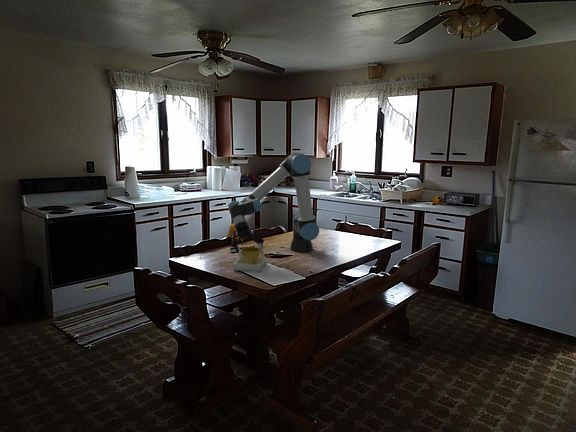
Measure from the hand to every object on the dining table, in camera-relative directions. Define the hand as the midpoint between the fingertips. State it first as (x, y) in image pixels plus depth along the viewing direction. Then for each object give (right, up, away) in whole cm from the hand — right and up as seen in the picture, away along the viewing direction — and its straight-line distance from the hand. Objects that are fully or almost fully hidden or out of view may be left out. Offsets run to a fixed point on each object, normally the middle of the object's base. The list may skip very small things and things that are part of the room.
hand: (252, 255), depth 227 cm
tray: (-1, -7, +3) cm, 8 cm away
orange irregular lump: (-18, +4, +66) cm, 68 cm away
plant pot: (-1, -6, +3) cm, 7 cm away
